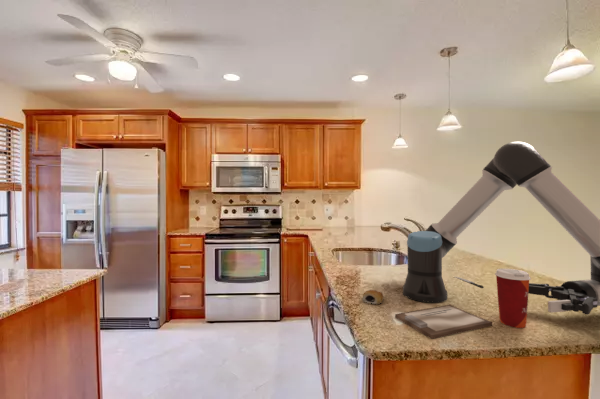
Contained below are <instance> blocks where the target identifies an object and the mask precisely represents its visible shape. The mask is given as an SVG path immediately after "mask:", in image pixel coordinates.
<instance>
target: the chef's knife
mask: <svg viewBox="0 0 600 399" xmlns="http://www.w3.org/2000/svg"><path fill="white" fill-rule="evenodd" d="M454 278H455V279H458V280H461V281H463V282H466V283H468V284H471V285H473V286H476V287H479V288H481V289H484V286H483V285H482V284H477V283H476V282H475V281H471V280H468V279H465V278H462V277H458V276H454Z"/></svg>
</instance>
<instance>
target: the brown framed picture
mask: <svg viewBox="0 0 600 399" xmlns="http://www.w3.org/2000/svg"><path fill="white" fill-rule="evenodd" d="M394 317H395V318H396V319H397V320H398V321H401V322H402V323H404V324H405V325H408V326H409V327H411V328H412V329H414V330H415V331H417V332H419V333H420V334H422V335H424V336H426V337H428V338H429V339H430V340H433V339H437V338H442V337H446V336H452V335H455V334H461V333H464V332H471V331H473V330H478V329H483V328H488V327H492V326H493V322H492V321H491V320H488V319H486V318H483V317H480V316H478V315H476V314H474V313H470V312H469V311H466V310H464V309H461V308H459V307H457V306H454V305H452V304H447V305H440V306H434V307H429V308H424V309H417V310H412V311H411V310H410V311H405V312H401V313H395V314H394Z"/></svg>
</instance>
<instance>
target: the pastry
mask: <svg viewBox="0 0 600 399" xmlns="http://www.w3.org/2000/svg"><path fill="white" fill-rule="evenodd" d="M361 301H362V303H364V302H367V303H366V304H368V303H372V304H371V305H375V304H376V305H380V303H381V304H382V303H383V301H384V295H383V293H382V292H381V291H378V290H374V289H372V290H371V289H369V290H366V291H365V292H363V294H362V297H361Z"/></svg>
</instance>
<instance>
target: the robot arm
mask: <svg viewBox="0 0 600 399" xmlns="http://www.w3.org/2000/svg"><path fill="white" fill-rule="evenodd" d="M552 170H553V166H552V165H550V163H549V162H548V161H546V159H545V158H544V157H543V156H542V155H541V154H540V153H539V152H538V150H537V149H536V148H535V147H534V146H533V145H531V144H529V143H527V142H523V141H511V142H508V143H506V144H504V145H503V144H502V146H501V147H499V149H497V151H496V152H495V154H494V156H493V158H492V159H491V160H490V161H489V162H488V163H487V164H486V166H485V167H483V169H482V176H481V177H480V178H479V179H478V181H476V183H474V184H473V185H472V187H471V188H469V189H468V191H467V192H465V194H464V195H463V196H462V197H461V198H460V199H459V200H458V201H457V202H456V203H455V205H453V207H452V208H450V210H449V211H448V212H447V213H446V214H445V215H444V216H442V218H441V219H440V220H439V221H438V222H435V223H431V224H430V225H429V226H428V227H427V228H426V229H425V230H417V231H413V232H411V233H409V234H408V235H407V240H406V246H407V275H406V278H405V281H404V284H403V286H402V295H403V296H404V297H406V298H408V299H410V300H414V301H418V302H422V303H431V304H432V303H434V304H435V303H443V302H446V301H448V291H447V289H446V287H445V286H446V285H445V282H444V278H443V272H442V270H443V258H444V257H445V256H446V255H447V253H449V252H450V251H451V250H452V248H454V246H456V245H457V244H458V241H457V240H458V239H457V238H458V237H459V236H460V235H461V234H462V233H463V232H464V231H465V230H466V229H467V228H468V227H469V226H470V225H471V224H472V223H473V222H474V221H475V220H476V219H477V218H478V217H480V215H481V214H482V213H483V212H484V211H485V210H486V209H487V208H488V207H489V206H490V205H491V204H492V203H493V202H494V201H495V200H496V199H497V198H498V197H499V196H500V195H501V194H502V193H503V192H504V191H507V190H513V189H514V188H515V187H516V186H518V187H520V188H525V189H526V190H527V191H528V193H529V194H530V195H532V197H534V198H535V200H536V201H537V202H538V203H539V204H540V205H541V206H542V207H543V208H544V209H545V210H546V211H547V212H548V213H549V214H550V215H551V216H552V217H553V218H554V219H555V220H556V221H557V222H558V223H559V224H560V225H561V227H562V228H564V230H565V231H567V232H566V233H568V234H569V235H570V236H571V238H573V239H574V240H575V241H576V242H577V243H578V245H580V246H581V247H582V248H583V250H585V252H586V253H588V255H589V256H590V279H579V280H569V281H565V282H563V283H562V284H561V285H556V286H553V285H550V284H549V283H533V282H529V291H528V295H529V294H530V295H536V296H537V295H538V296H545V297H546V298H548V299H555V300H548V301H547V312H549V313H551V314H552V313H561V312H575V313H576V312H577V313H578V312H581V313H582V314H583V315H590V313H591V312H592V310H593V309H594V308H596V309H597V308H598V307H599V306H600V219H599V218H598V216H596V214H595V213H593V211H592V210H590V208H588V207H587V206H586V205H585V203H583V202H582V201H581V200H580V199H579V198H578V197H577V196H576V195H575V194H574V193H573V192H572V191H571V190H570V189H569V188H568V187H567V186H566V185H565V184H564V183H563V182H562V181H561V180H560V179H559V178H558V176H556V175H555V174H554V173H553V172H552Z"/></svg>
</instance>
